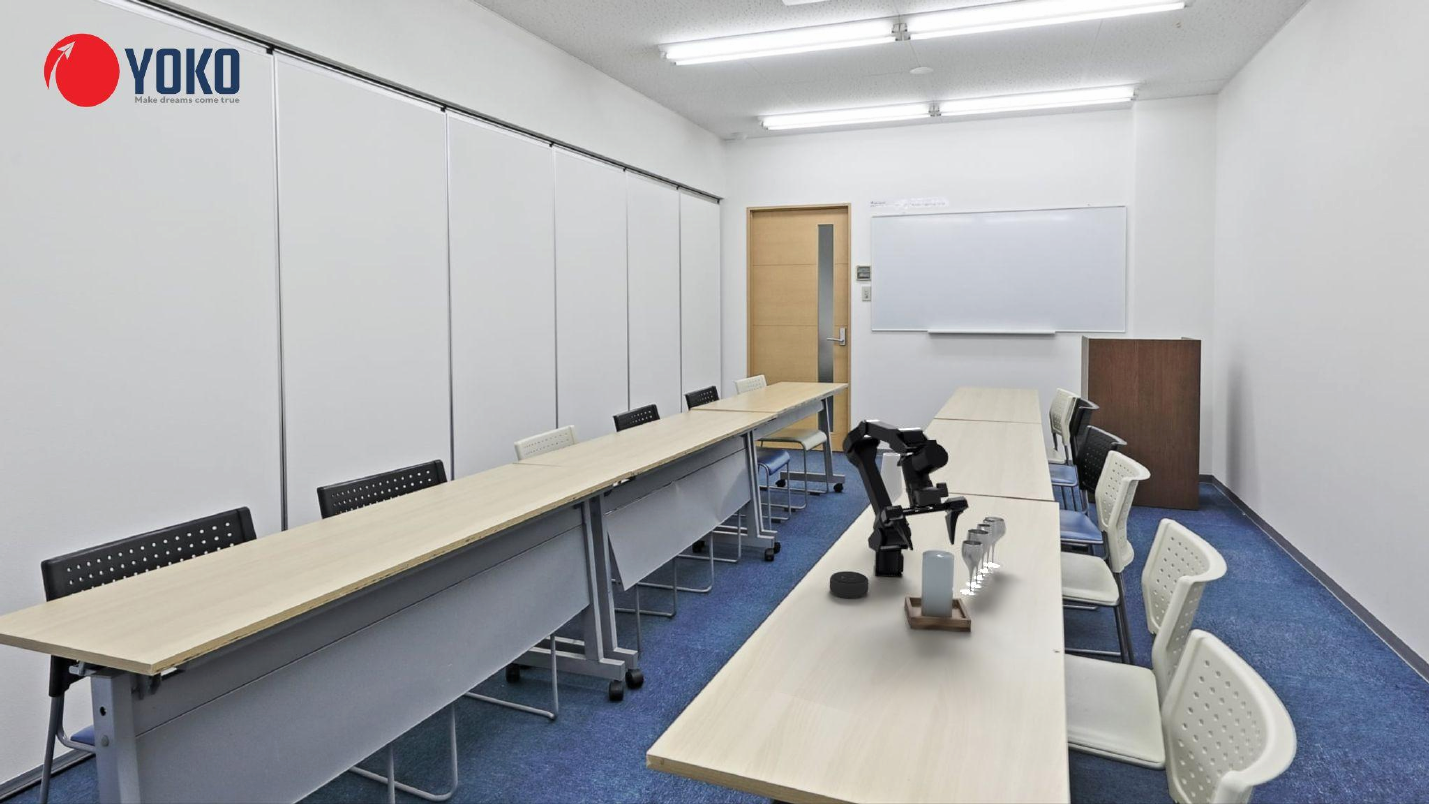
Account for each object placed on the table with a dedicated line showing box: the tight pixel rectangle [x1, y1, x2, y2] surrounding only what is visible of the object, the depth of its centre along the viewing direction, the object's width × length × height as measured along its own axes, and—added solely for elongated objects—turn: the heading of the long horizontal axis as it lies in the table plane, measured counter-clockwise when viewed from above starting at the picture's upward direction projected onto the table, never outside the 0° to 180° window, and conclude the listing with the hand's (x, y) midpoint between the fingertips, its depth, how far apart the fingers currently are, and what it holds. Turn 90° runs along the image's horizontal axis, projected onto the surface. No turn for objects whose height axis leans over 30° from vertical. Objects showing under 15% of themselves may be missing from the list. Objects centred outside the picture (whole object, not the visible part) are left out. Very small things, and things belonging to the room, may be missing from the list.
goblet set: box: [959, 516, 1007, 596], centre depth 189 cm, size 28×6×13 cm, turn 148°
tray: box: [904, 595, 972, 633], centre depth 165 cm, size 12×12×2 cm
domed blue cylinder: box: [920, 549, 955, 618], centre depth 164 cm, size 6×6×13 cm
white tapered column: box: [880, 452, 903, 504], centre depth 223 cm, size 7×7×24 cm
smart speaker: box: [829, 570, 870, 599], centre depth 180 cm, size 9×9×4 cm
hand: (932, 547), depth 173 cm, fingers open, 9 cm apart
